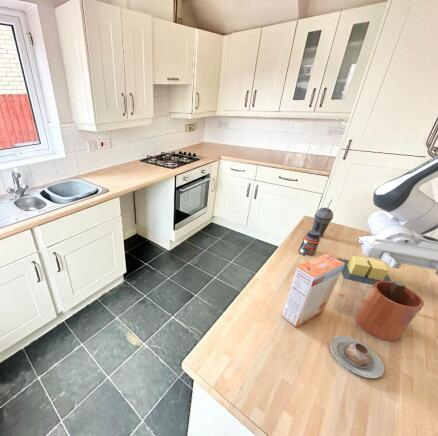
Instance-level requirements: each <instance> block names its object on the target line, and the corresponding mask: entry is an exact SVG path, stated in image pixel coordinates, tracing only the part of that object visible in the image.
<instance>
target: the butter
mask: <svg viewBox="0 0 438 436" xmlns="http://www.w3.org/2000/svg"><path fill="white" fill-rule="evenodd" d="M348 260H349V262H348V264H347V266H348V269H349V271H350V274H353V275H358V276H362V277H365V275H366V274H367V276H368V278H371V279H376V280H380V281H383V280H384V278H385V276H386V275H388V273H389V268H387V266H386V264H385V262H384V261H383V260H379V259H374V258H368V259H367V258H366V257H363V256H357V255H351V256H350V258H349V259H348Z"/></svg>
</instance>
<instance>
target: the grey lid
mask: <svg viewBox="0 0 438 436" xmlns="http://www.w3.org/2000/svg"><path fill="white" fill-rule="evenodd" d="M329 348H330V351H331V353H332V354H333V356H334V358H335V359H336V360H337V361H338V362H339V364H341V365H342V366H343V367H344V368H345V369H347V370H348V371H350V372H352V373H353V374H354V375H356V376H358V377H360V378H364V379H378V378H380V377H382V376H383V375H384V374H385V365H384V362H383V360H382V359H381V357H380V356H379V355H378V354H377V352H375V350H373V348H371V346H368V345H367V344H366V343H364V342H362V341H361V340H358V339H356V338H354V337H352V336H348V335H336V336H334V337H332V338H331V339H330V341H329Z"/></svg>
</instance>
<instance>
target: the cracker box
mask: <svg viewBox="0 0 438 436" xmlns="http://www.w3.org/2000/svg"><path fill="white" fill-rule="evenodd" d="M344 265H345V263H344V262H342V261H340V260H338V259H337V257H334V256H332V255H330V254H328V253H324V254H322V255H320V256H318V257H316V258H314V259H311V260H309V261H307V262H304V263H302V264H300V265H298V266H296V268H295V272H294V275H293V278H292V280H291V284H290V286H289V290H288V292H287V295H286V297H285V301H284V304H283V308H282V310H281V313H280V316H281V317H283V318H284V319H285V320H286V321H287V322H288V323H289V324H291V325H292V326H293V327H294V328H298V327H299V326H302V325H303V324H305V323H307V322H308V321H310V320H311V319H314V318H315V317H317V316H319V315H320V314H322V313H324V311H325V309H326V307H327V305H328V302H329V300H330V298H331V296H332V294H333V291H334V289H335V287H336V285H337V283H338V280H339V279H340V276H341V275H342V269H343V267H344Z"/></svg>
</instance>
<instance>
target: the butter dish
mask: <svg viewBox="0 0 438 436" xmlns="http://www.w3.org/2000/svg"><path fill="white" fill-rule="evenodd" d="M336 259H338V260H340V261H342V262H344V263H345V265H344V267H343V269H342V272H341V275H342V278H343V279H344V280H349V281H353V282H357V283H362V284H367V285H369V286H370V285H371V286H374V284H375V283H376V282H378V281H380V280H376V279H371V278H368V276H367V274H366V275H365V277H362V276H358V275H353V274H350V271H349V269H348V266H347V264H348V262H349V260H350V259H346V258H345V259H344V258H339V257H336ZM383 281H389V282H393V280H391V278H390V276H389V274H387V275H386V276H385V278H384V280H383Z"/></svg>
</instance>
